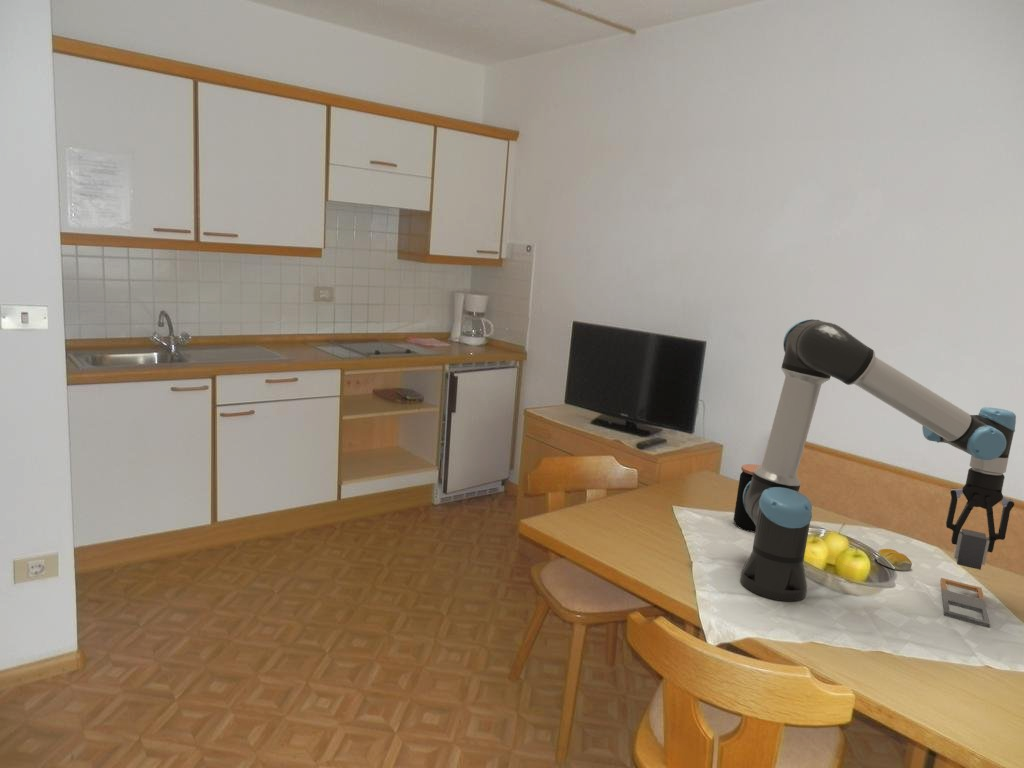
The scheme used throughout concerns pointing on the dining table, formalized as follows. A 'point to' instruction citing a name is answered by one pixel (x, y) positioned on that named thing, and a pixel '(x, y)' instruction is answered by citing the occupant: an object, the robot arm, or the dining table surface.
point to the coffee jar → (740, 513)
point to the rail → (964, 602)
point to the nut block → (971, 549)
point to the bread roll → (896, 559)
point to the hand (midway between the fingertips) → (968, 559)
